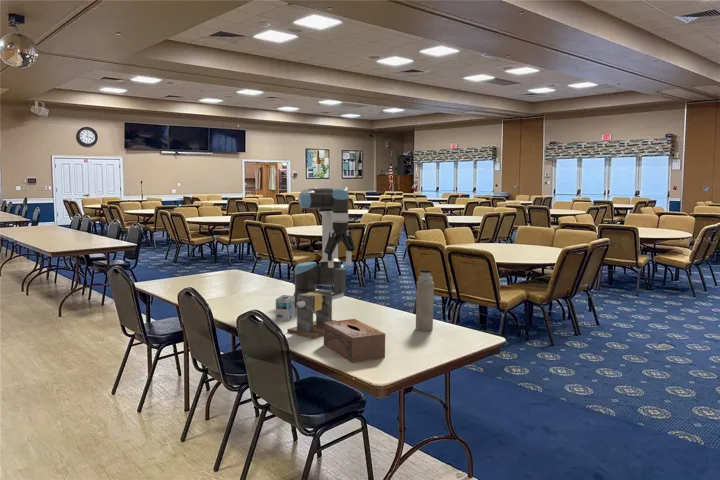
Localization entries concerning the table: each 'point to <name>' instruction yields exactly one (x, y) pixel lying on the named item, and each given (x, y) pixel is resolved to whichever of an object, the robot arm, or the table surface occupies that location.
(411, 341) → the table surface
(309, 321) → the shaft stand
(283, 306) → the light bulb box
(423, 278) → the thermos bottle
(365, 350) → the tissue box cover
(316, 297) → the block
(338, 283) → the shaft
